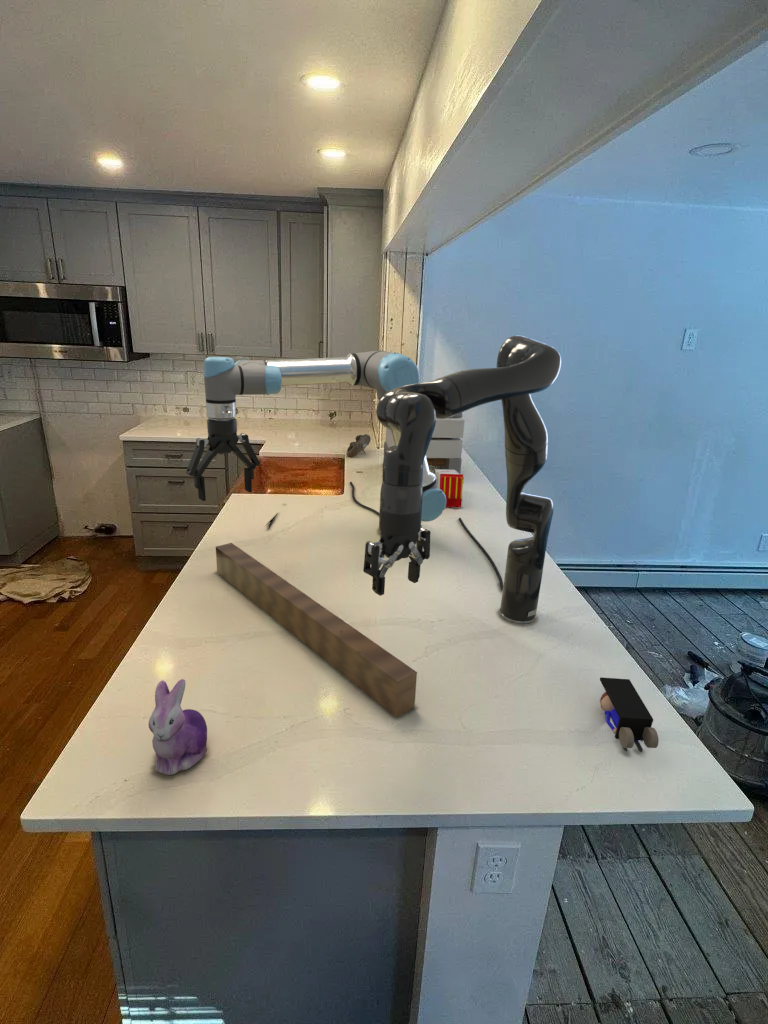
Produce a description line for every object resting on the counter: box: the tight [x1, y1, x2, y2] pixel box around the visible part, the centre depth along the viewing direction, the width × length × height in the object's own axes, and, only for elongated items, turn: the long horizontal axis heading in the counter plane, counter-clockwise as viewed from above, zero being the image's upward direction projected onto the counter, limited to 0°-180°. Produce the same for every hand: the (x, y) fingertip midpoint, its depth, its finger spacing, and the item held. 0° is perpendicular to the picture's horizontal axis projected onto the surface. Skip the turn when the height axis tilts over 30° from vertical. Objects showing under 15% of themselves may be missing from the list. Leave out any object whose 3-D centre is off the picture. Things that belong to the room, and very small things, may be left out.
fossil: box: [346, 433, 372, 458], centre depth 305 cm, size 22×10×15 cm
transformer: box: [383, 412, 465, 474], centre depth 268 cm, size 34×33×41 cm
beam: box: [215, 542, 418, 718], centre depth 138 cm, size 78×5×8 cm, turn 41°
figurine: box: [148, 678, 208, 776], centre depth 96 cm, size 9×10×15 cm
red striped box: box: [434, 468, 464, 508], centre depth 240 cm, size 12×13×30 cm
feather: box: [265, 512, 279, 530], centre depth 210 cm, size 2×28×2 cm
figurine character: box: [599, 676, 660, 753], centre depth 108 cm, size 7×8×15 cm
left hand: (225, 495), depth 156 cm, fingers open, 13 cm apart
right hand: (396, 587), depth 106 cm, fingers open, 8 cm apart
